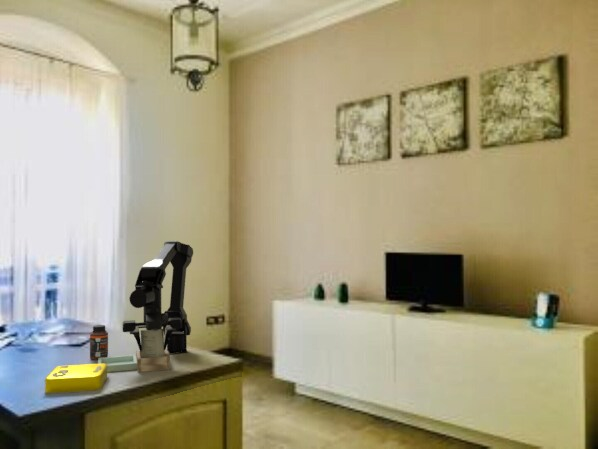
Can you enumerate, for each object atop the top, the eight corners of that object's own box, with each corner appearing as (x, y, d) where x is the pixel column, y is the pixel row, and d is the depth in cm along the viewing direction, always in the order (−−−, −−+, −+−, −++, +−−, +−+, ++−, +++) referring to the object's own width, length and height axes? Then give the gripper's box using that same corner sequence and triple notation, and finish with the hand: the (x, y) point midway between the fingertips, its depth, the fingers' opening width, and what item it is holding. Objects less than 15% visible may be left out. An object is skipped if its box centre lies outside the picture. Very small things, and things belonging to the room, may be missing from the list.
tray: (135, 360, 183) (135, 354, 183) (137, 369, 171) (137, 363, 171) (98, 363, 179) (98, 357, 179) (97, 372, 167) (97, 366, 167)
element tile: (100, 391, 150) (100, 374, 150) (43, 395, 147) (43, 377, 147) (108, 376, 164) (108, 361, 164) (56, 379, 161) (56, 364, 161)
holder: (166, 360, 182) (166, 348, 182) (170, 369, 171) (170, 356, 171) (136, 363, 179) (136, 351, 179) (137, 372, 167) (137, 359, 167)
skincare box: (164, 365, 176) (164, 328, 176) (157, 368, 172) (157, 330, 172) (148, 363, 178) (148, 327, 178) (140, 367, 174) (140, 329, 174)
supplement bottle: (101, 360, 183) (101, 327, 183) (86, 359, 184) (86, 327, 184) (111, 356, 188) (111, 324, 188) (96, 355, 190) (96, 323, 190)
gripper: (123, 308, 164) (123, 359, 164) (184, 305, 170) (184, 353, 170) (122, 303, 175) (122, 351, 175) (180, 300, 181) (180, 346, 181)
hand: (152, 350), depth 175 cm, fingers closed on skincare box, 7 cm apart
